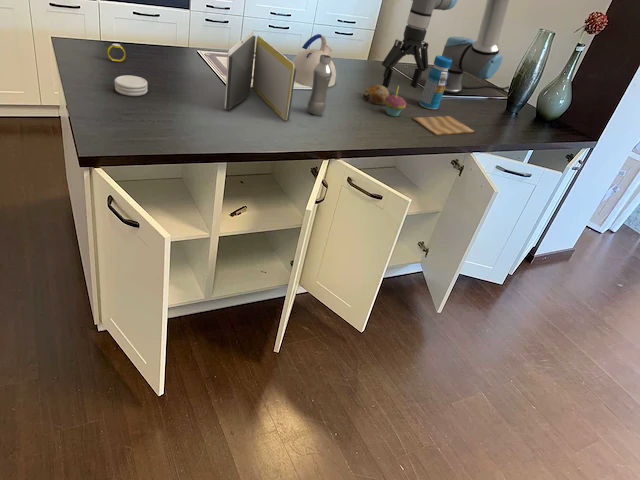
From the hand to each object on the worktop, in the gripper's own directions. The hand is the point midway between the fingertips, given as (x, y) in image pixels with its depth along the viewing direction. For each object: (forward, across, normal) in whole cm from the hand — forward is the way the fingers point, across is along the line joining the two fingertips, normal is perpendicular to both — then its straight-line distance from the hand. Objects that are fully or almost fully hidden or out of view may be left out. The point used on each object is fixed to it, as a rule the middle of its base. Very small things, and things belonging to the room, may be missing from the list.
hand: (399, 86), depth 178 cm
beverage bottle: (+11, -24, -6) cm, 27 cm away
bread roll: (+11, -1, -13) cm, 17 cm away
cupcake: (+11, 0, 0) cm, 11 cm away
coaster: (+12, +91, -25) cm, 95 cm away
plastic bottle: (+11, +33, -3) cm, 35 cm away
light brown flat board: (+11, -16, +12) cm, 23 cm away
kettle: (+11, +16, -37) cm, 42 cm away
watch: (+12, +90, -54) cm, 105 cm away
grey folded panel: (+11, +55, -14) cm, 58 cm away
